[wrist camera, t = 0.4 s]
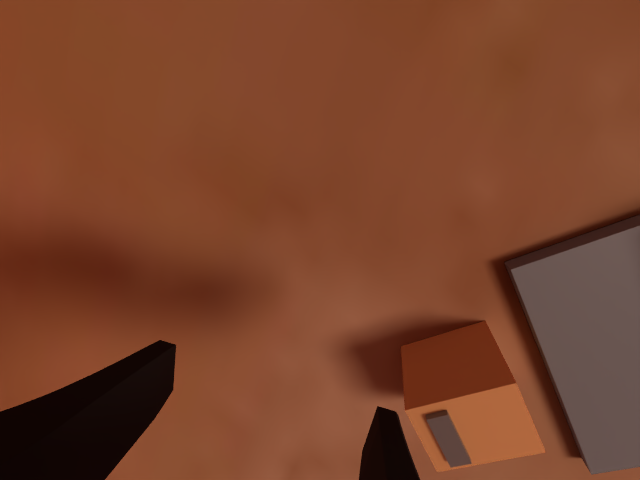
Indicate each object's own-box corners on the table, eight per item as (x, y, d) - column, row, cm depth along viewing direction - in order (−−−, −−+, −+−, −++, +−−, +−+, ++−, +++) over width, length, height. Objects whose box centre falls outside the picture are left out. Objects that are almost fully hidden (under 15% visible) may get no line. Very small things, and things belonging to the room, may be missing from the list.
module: (508, 375, 20) (548, 458, 15) (426, 396, 22) (438, 477, 17) (484, 319, 19) (518, 388, 14) (400, 345, 21) (405, 415, 16)
